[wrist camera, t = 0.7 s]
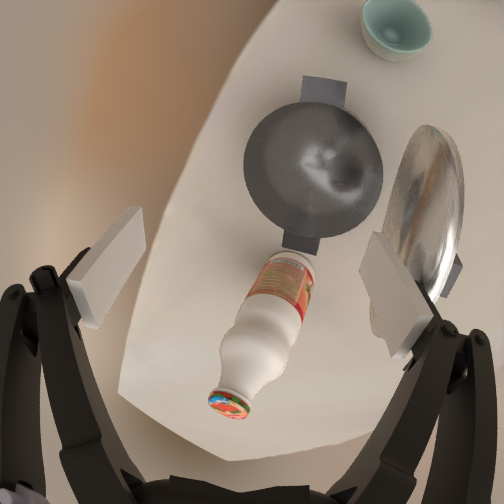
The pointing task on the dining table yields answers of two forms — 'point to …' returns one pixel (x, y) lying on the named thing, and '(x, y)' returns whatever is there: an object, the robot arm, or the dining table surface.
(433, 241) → the lid
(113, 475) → the robot arm
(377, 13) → the cup
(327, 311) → the dining table surface
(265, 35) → the dining table surface
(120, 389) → the dining table surface
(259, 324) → the fruit juice
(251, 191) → the cooker pot
